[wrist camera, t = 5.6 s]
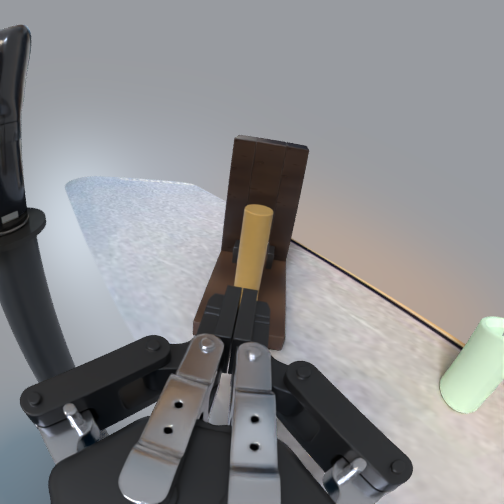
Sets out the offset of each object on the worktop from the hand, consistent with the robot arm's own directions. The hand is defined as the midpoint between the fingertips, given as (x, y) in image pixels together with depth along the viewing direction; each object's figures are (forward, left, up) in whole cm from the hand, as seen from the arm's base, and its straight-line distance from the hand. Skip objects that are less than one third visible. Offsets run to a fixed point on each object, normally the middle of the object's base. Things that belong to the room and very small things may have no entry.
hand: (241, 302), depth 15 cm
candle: (+19, -6, -8) cm, 22 cm away
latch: (+4, +11, -8) cm, 15 cm away
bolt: (+3, +9, -6) cm, 12 cm away
